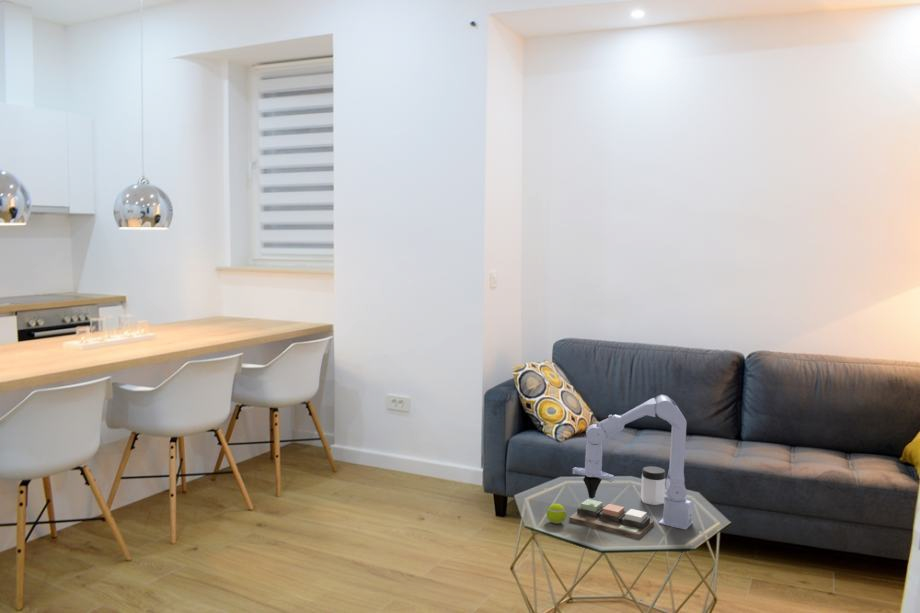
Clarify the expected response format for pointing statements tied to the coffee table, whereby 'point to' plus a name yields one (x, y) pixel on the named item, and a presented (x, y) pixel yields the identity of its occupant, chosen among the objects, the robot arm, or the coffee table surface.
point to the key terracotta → (613, 510)
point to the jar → (653, 485)
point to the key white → (636, 515)
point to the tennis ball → (556, 513)
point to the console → (611, 522)
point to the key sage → (591, 505)
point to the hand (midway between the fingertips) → (591, 497)
